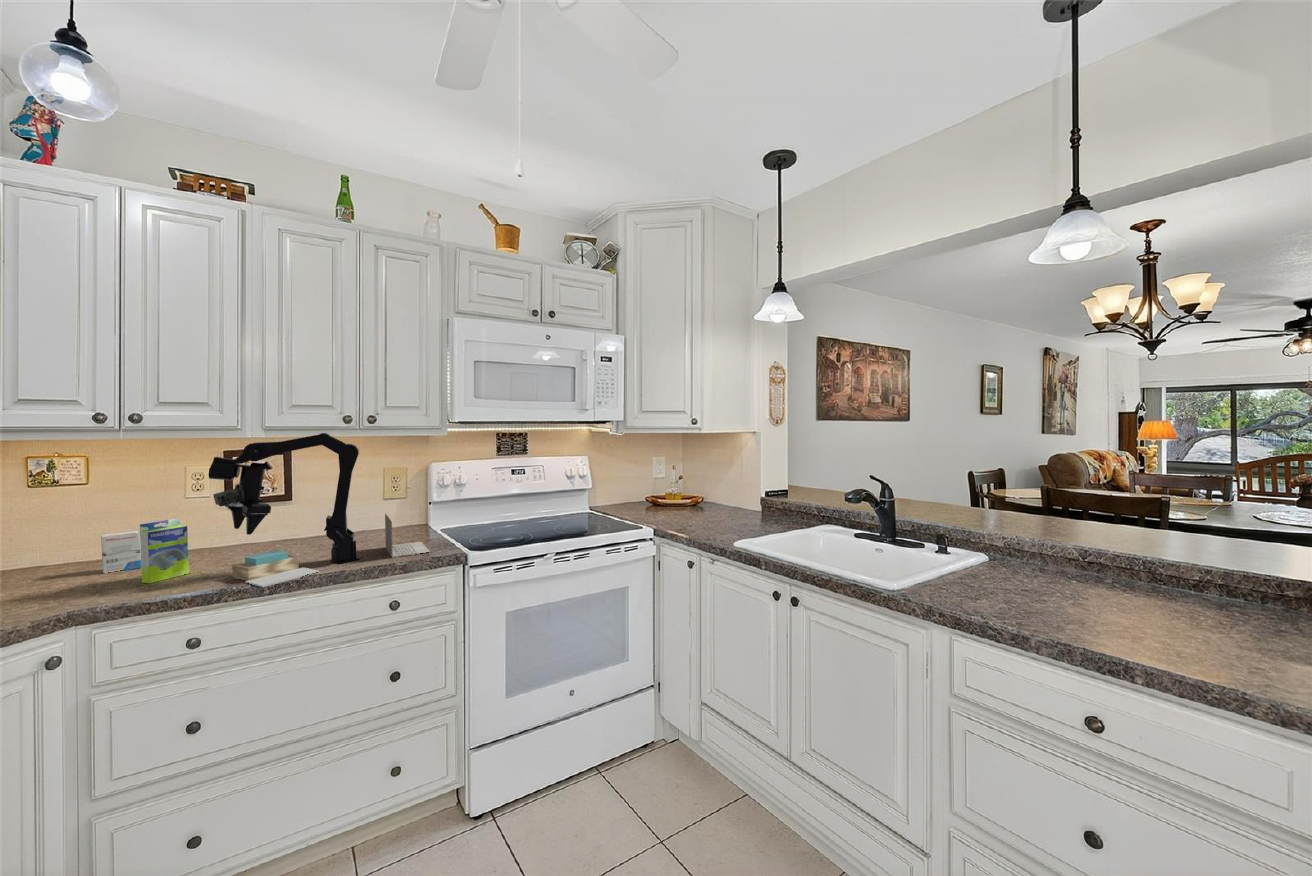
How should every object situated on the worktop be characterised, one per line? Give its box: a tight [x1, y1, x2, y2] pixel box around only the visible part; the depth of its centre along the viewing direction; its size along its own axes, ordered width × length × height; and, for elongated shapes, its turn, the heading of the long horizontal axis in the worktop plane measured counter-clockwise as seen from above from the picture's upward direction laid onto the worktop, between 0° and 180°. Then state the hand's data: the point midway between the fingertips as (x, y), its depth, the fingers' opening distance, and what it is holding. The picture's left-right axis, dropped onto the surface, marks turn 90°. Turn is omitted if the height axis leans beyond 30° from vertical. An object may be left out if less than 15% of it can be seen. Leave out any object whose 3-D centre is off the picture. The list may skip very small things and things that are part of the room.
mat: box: [244, 566, 320, 588], centre depth 158 cm, size 16×9×1 cm, turn 153°
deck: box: [231, 554, 300, 581], centre depth 162 cm, size 14×9×4 cm, turn 153°
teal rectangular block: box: [244, 549, 289, 566], centre depth 162 cm, size 9×6×2 cm, turn 153°
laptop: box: [384, 513, 431, 559], centre depth 190 cm, size 18×12×13 cm
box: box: [139, 517, 190, 584], centre depth 158 cm, size 10×4×17 cm, turn 163°
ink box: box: [100, 530, 142, 574], centre depth 167 cm, size 9×5×12 cm, turn 134°
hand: (242, 531), depth 164 cm, fingers open, 9 cm apart
